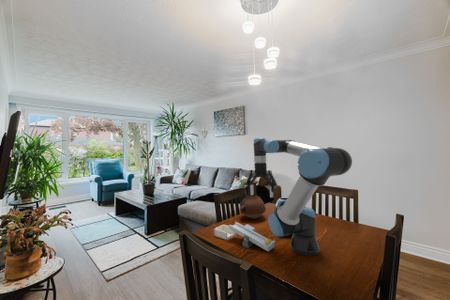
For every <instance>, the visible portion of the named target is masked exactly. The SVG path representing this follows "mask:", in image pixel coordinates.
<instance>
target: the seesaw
mask: <svg viewBox="0 0 450 300" xmlns="http://www.w3.org/2000/svg"><path fill="white" fill-rule="evenodd" d="M228 226H229V229H230V230H232V231H234V232H235V233H236V235H239V236H241V237H242V238H244V236H248V237H249V241H251V242H253V243H254V245H256V246H258V247H260V248H261V249H263V250H265V251H267V252H270V251H271V250H272V249H274V247H275V244H276V240H271V243H270V244H269V245H268V246H267V245H266V244H265V240H266V239H268V238H267V237H266V236H264V235H261V234H260V233H258V232H257V231H256V227H253V226H252V225H250V224H248V223H247V224H245V225H243V224H241V223H239V222H237V221H235V222H234V224H233V225H232V224H229V225H228ZM254 231H256V232H257V233H256V232H254Z"/></svg>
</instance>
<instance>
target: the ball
mask: <svg viewBox="0 0 450 300" xmlns="http://www.w3.org/2000/svg"><path fill="white" fill-rule="evenodd" d="M271 241H272V240H271V239H270V238H267V239H266V240H265V244H266V245H267V246H268V245H269V244H270V243H271Z"/></svg>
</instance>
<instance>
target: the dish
mask: <svg viewBox="0 0 450 300" xmlns="http://www.w3.org/2000/svg"><path fill="white" fill-rule="evenodd" d="M213 235H214V237H217V238H219V239H223V240H226V241H227V240H230V239H231V238H233V237H235V236H237V233H235V232H234V231H232V230H230V229H229V225H227V224H222V225H221V224H220V225H219V226H217V227H215V228H213Z"/></svg>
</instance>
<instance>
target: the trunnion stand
mask: <svg viewBox="0 0 450 300" xmlns="http://www.w3.org/2000/svg"><path fill="white" fill-rule="evenodd" d="M253 231H254V232H256V233H258V231H256V230H253ZM254 245H255V244H254V243H253V242H251V241H249V237H248V236H244V237H243V241H242V247H243V248H245V249H250V248H251V247H253V246H254Z"/></svg>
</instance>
